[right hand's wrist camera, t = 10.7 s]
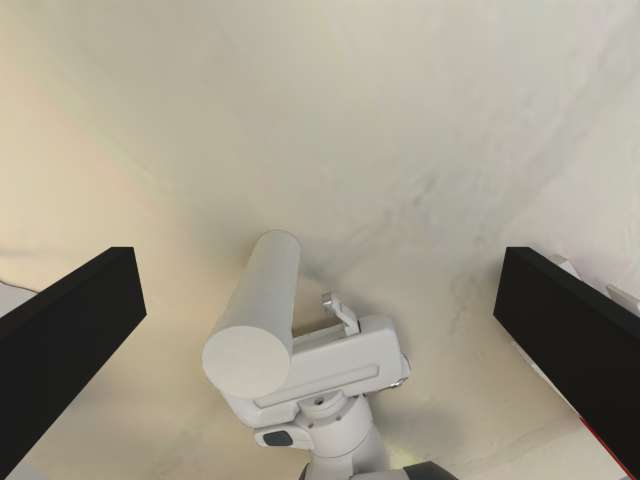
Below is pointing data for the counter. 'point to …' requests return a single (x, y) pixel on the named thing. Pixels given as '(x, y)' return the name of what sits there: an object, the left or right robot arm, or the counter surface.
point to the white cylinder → (248, 352)
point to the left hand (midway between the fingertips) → (285, 308)
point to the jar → (270, 276)
